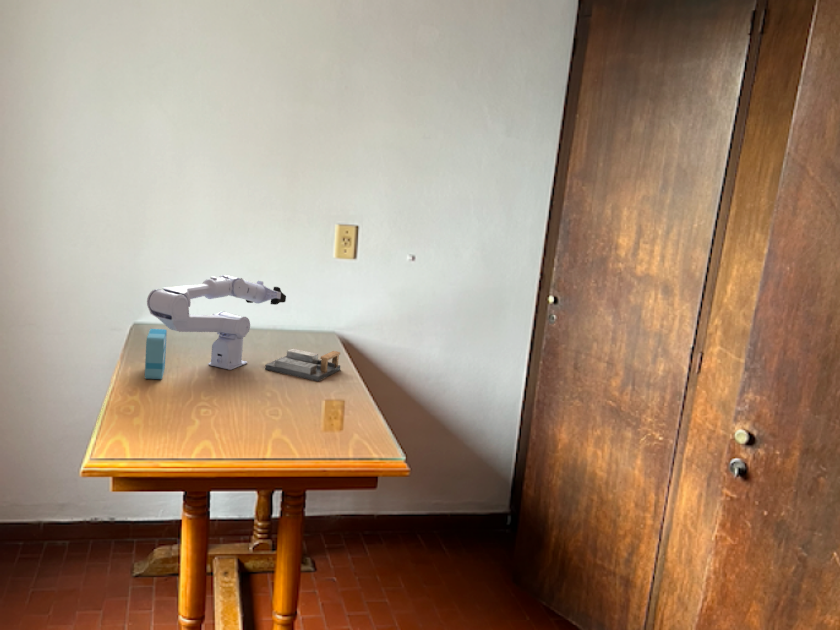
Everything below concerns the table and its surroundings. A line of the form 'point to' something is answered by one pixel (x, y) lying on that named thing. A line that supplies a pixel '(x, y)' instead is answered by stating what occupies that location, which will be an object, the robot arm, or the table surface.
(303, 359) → the bar
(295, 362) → the base
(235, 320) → the robot arm
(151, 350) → the data package
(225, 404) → the table surface
